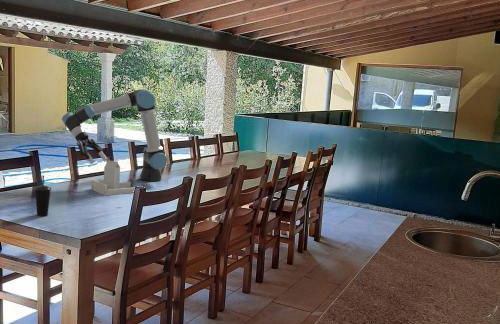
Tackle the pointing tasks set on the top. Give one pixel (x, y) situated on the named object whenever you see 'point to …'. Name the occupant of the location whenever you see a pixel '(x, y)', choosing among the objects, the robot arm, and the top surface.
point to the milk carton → (112, 174)
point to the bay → (103, 189)
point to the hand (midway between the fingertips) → (99, 161)
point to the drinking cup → (42, 199)
